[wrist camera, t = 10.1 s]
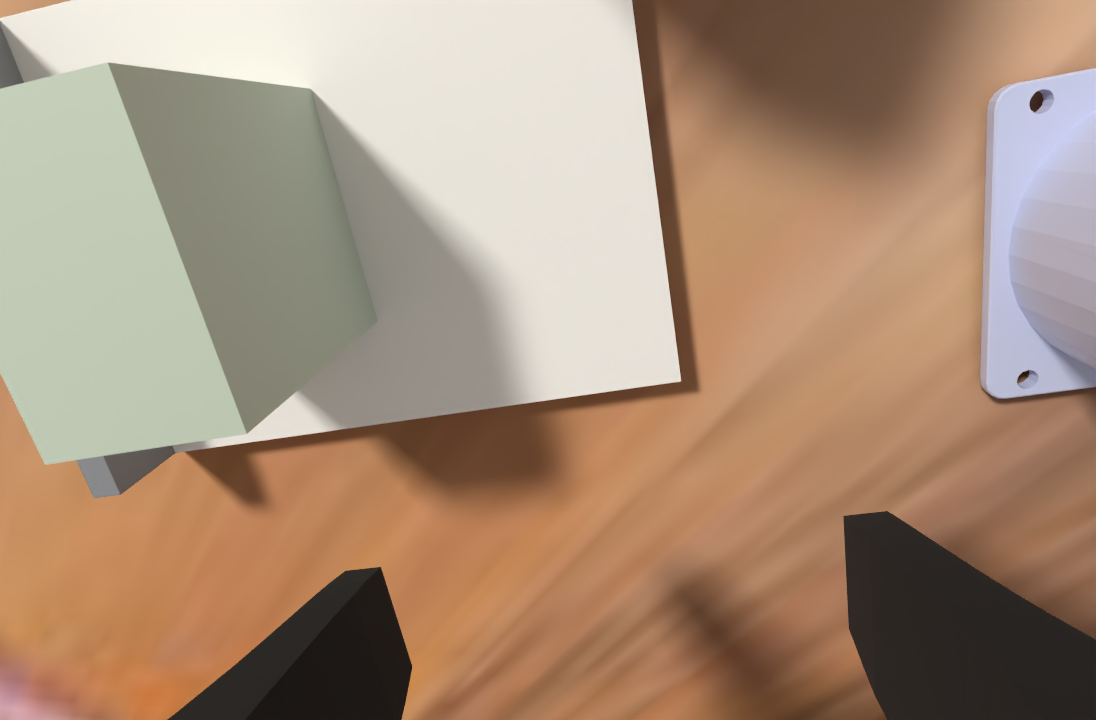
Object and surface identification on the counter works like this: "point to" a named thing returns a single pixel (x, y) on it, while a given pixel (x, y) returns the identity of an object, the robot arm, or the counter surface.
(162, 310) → the carton
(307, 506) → the counter surface
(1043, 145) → the robot arm
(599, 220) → the shelf board
